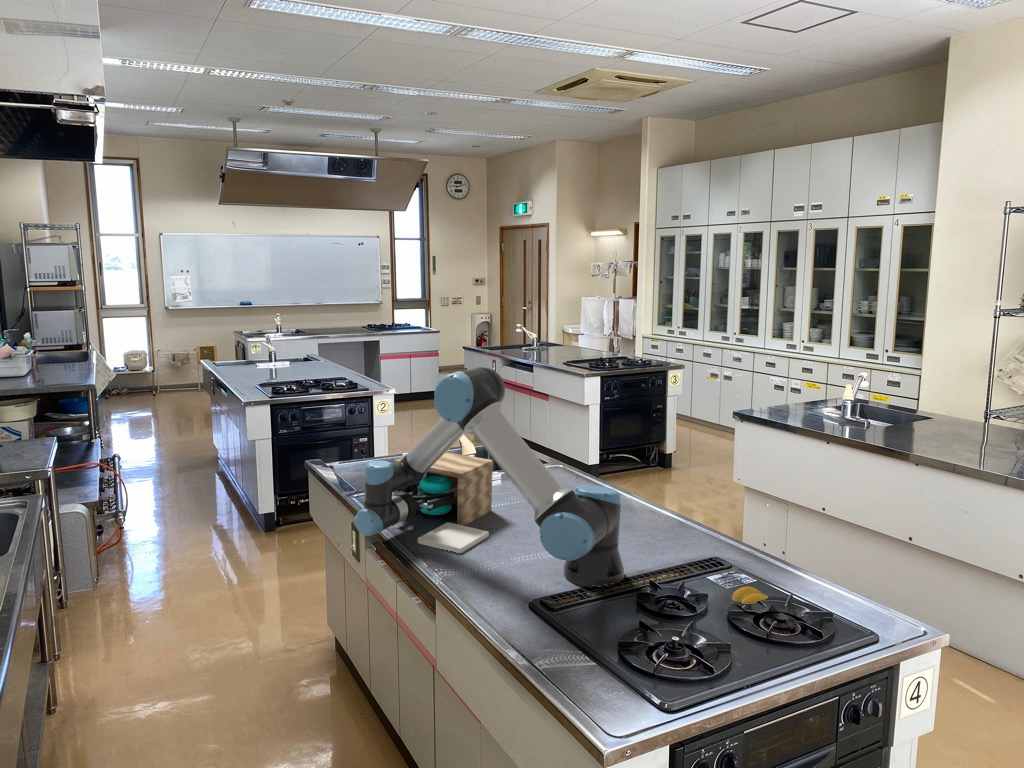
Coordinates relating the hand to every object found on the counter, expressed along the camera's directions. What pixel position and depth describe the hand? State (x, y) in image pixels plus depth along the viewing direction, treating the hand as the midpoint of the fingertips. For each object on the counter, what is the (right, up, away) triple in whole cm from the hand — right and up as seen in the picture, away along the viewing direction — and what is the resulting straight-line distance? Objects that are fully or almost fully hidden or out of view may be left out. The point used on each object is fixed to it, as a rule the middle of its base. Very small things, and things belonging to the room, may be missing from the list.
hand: (443, 488), depth 231 cm
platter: (+5, -11, -22) cm, 25 cm away
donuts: (-2, -7, -3) cm, 8 cm away
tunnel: (0, -7, +1) cm, 7 cm away
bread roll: (+78, -20, -57) cm, 99 cm away
